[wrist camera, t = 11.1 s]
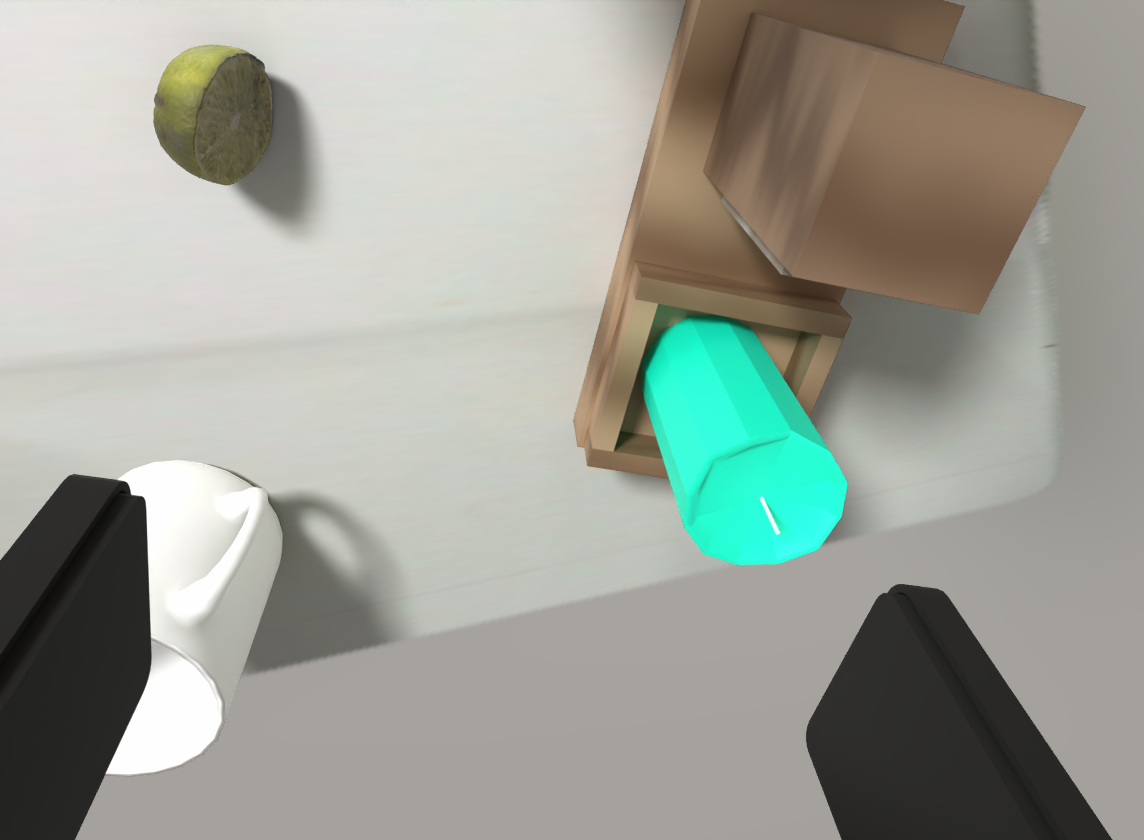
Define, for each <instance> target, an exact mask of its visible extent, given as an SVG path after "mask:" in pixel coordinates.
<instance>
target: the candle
mask: <svg viewBox="0 0 1144 840" xmlns="http://www.w3.org/2000/svg"><path fill="white" fill-rule="evenodd" d="M642 393H643V396H644V400H645V403H646V406H647V409H648V412H649V416H650V419H651V422H652V425H653V429H654V432H655V435H656V438H657V441H658V445H659V448H660V451H661V454H662V457H663V461H664V464H665V467H666V470H667V474H668V477H669V480H670V483H671V486H672V490H673V493H674V496H675V499H676V502H677V506H678V509H679V512H680V515H681V519H682V522H683V525H684V528H685V529H686V531H687V532H688V533H689V535H690V536H691V538H692V539H693V540H694V542H695V543H696V544H697V546H698V547H699V548H700V550H701V551H702V552H703V554H705V555H708V556H711V557H714V558H718V559H721V560H724V561H727V562H730V563H733V564H736V565H750V564H780V563H783V562H786V561H788V560H791V559H794V558H797V557H800V556H802V555H805V554H808V553H810V552H814V551H816V550H818V549H819V548H820V546H821V545H822V544H823V542H824V541H825V539H826V538H827V537H828V535H829V534H830V532H831V531H832V530H833V528H834V527H835V525H836V524H837V523H838V521H839V520H840V518H841V517H842V512H843V506H844V501H845V496H846V491H847V485H848V483H847V481H846V479H845V477H844V475H843V474H842V472H841V470H840V468H839V466H838V465H837V463H836V461H835V459H834V458H833V456H832V454H831V452H830V451H829V449H828V447H827V446H826V444H825V443H824V441H823V440H822V438H821V436H820V435H819V433H818V432H817V430H816V429H815V427H814V426H813V424H812V422H811V421H810V419H809V418H808V416H807V415H806V413H805V411H804V410H803V408H802V407H801V405H800V404H799V402H798V400H797V399H796V397H795V396H794V394H793V393H792V391H791V389H790V388H789V386H788V385H787V383H786V382H785V380H784V378H783V377H782V375H781V374H780V372H779V371H778V369H777V367H776V366H775V364H774V363H773V361H772V360H771V358H770V356H769V355H768V353H767V352H766V350H765V349H764V347H763V345H762V344H761V342H760V341H759V339H758V338H757V336H756V334H755V333H754V331H753V330H752V328H751V327H749V326H747V325H745V324H743V323H741V322H739V321H737V320H735V319H733V318H731V317H725V316H720V315H715V314H711V315H696V316H688V317H686V318H685V319H683V320H681V321H680V322H678V323H676V324H675V325H673V326H671V327H669V328H668V329H666V330H664V331H663V332H661V333H659V335H658V336H657V338H656V339H655V341H654V343H653V344H652V346H651V347H650V349H649V351H648V352H647V354H646V355H645V357H644V359H643V360H642Z"/></svg>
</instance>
